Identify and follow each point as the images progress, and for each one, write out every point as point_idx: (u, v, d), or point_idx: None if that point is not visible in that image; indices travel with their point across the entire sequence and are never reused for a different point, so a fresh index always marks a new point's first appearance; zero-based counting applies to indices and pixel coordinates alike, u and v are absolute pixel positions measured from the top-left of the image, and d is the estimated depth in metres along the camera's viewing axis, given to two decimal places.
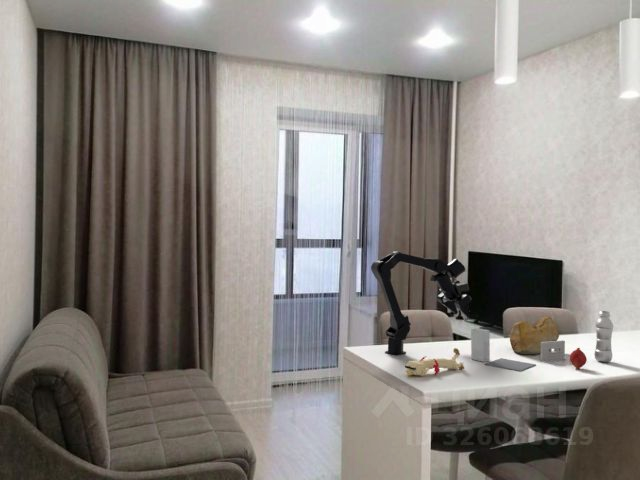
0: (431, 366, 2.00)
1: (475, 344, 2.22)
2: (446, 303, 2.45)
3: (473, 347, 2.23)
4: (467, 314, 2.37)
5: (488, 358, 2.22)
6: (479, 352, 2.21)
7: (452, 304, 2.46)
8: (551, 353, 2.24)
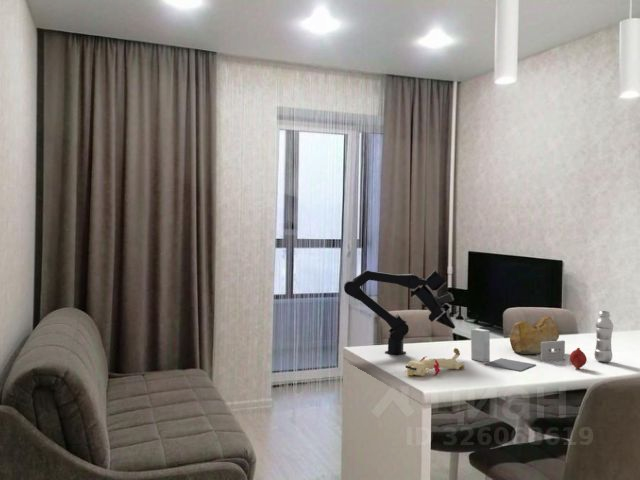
0: (431, 366, 2.00)
1: (475, 344, 2.22)
2: None
3: (473, 347, 2.23)
4: (451, 326, 2.27)
5: (488, 358, 2.22)
6: (479, 352, 2.21)
7: None
8: (551, 353, 2.24)
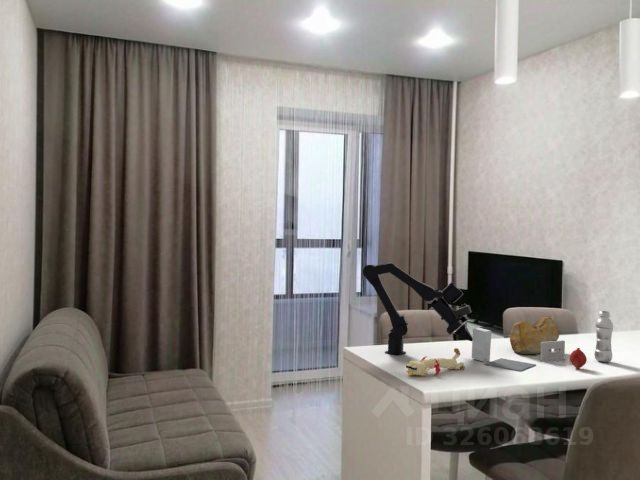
0: (432, 366, 2.00)
1: (476, 344, 2.22)
2: None
3: (474, 346, 2.23)
4: (469, 338, 2.24)
5: (488, 358, 2.21)
6: (480, 352, 2.21)
7: None
8: (551, 353, 2.24)
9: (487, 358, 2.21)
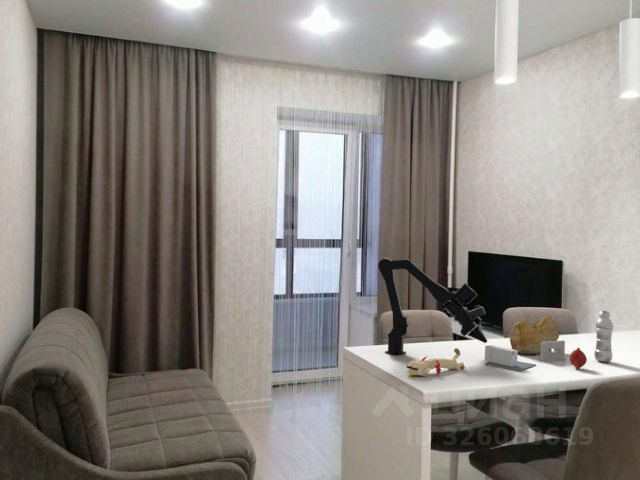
0: (432, 366, 2.00)
1: (498, 354, 2.15)
2: None
3: (495, 351, 2.16)
4: (483, 340, 2.22)
5: None
6: (491, 357, 2.17)
7: None
8: (551, 353, 2.24)
9: None
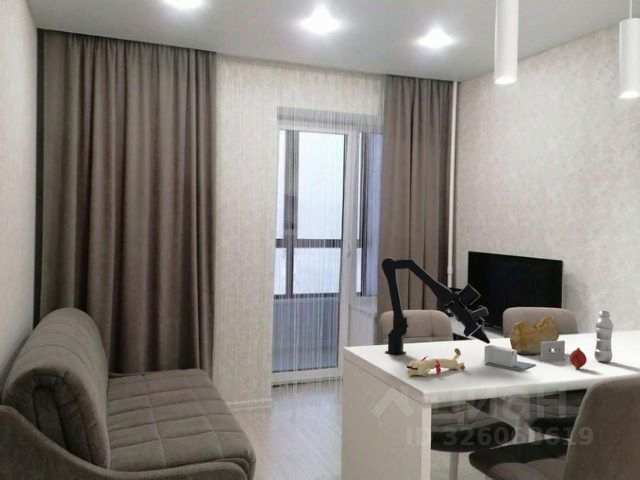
0: (432, 366, 2.00)
1: (497, 354, 2.14)
2: None
3: (495, 352, 2.15)
4: (486, 341, 2.21)
5: None
6: (491, 358, 2.17)
7: None
8: (551, 353, 2.24)
9: None
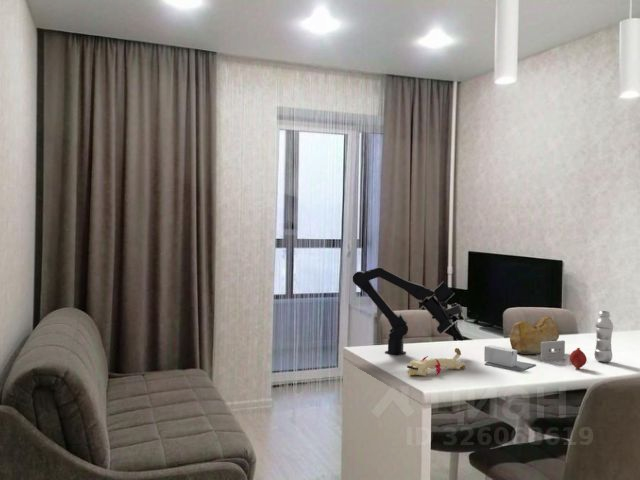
0: (433, 366, 2.00)
1: (497, 354, 2.14)
2: None
3: (495, 352, 2.15)
4: (459, 337, 2.25)
5: None
6: (491, 358, 2.17)
7: None
8: (551, 353, 2.24)
9: None
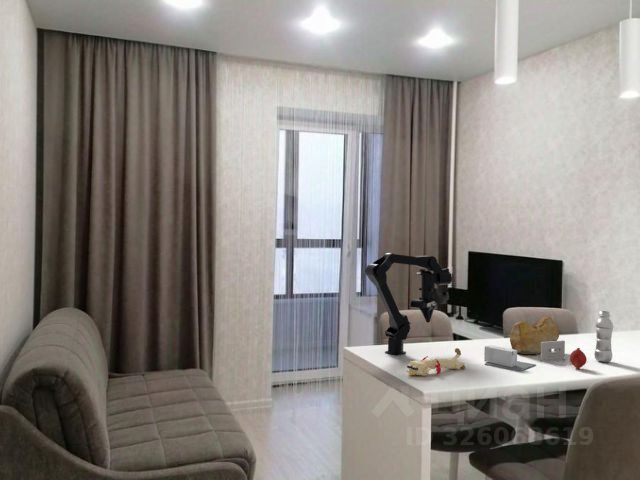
0: (433, 366, 2.00)
1: (497, 354, 2.14)
2: None
3: (495, 352, 2.15)
4: (426, 319, 2.38)
5: None
6: (491, 358, 2.17)
7: None
8: (551, 353, 2.24)
9: None
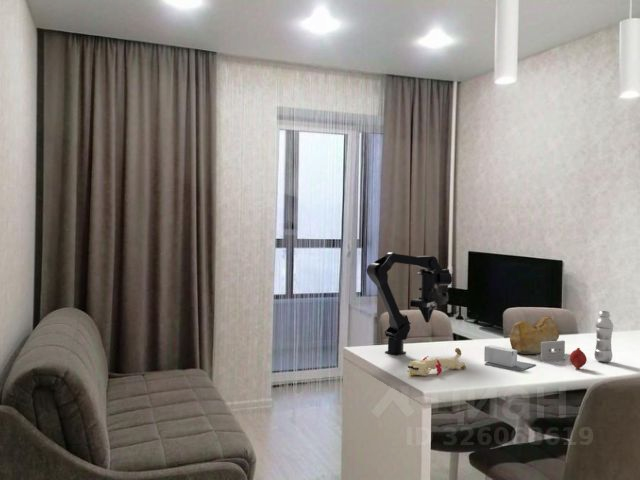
0: (433, 366, 2.00)
1: (497, 354, 2.14)
2: None
3: (495, 352, 2.15)
4: (425, 319, 2.38)
5: None
6: (491, 358, 2.17)
7: None
8: (551, 353, 2.24)
9: None
